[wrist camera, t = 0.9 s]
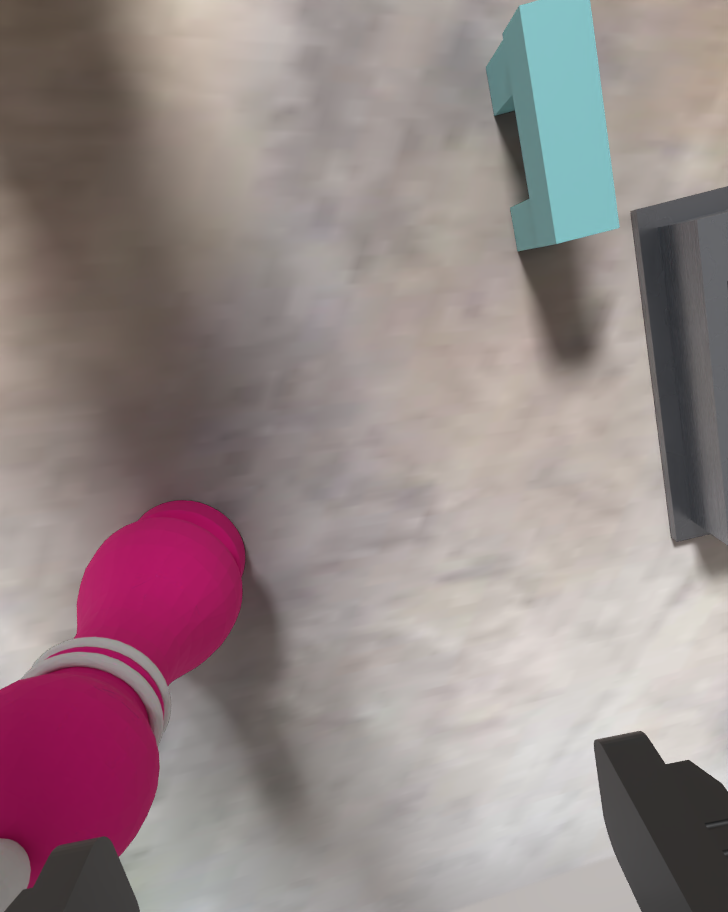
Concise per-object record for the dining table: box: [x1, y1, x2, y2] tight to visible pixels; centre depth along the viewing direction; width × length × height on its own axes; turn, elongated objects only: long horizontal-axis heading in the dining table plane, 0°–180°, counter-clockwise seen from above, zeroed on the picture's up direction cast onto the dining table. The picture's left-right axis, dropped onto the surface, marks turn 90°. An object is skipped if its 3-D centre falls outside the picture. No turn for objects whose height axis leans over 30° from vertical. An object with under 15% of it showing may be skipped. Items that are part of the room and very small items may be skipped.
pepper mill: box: [0, 500, 245, 912], centre depth 24 cm, size 7×7×20 cm
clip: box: [486, 0, 619, 251], centre depth 26 cm, size 8×2×6 cm, turn 14°
